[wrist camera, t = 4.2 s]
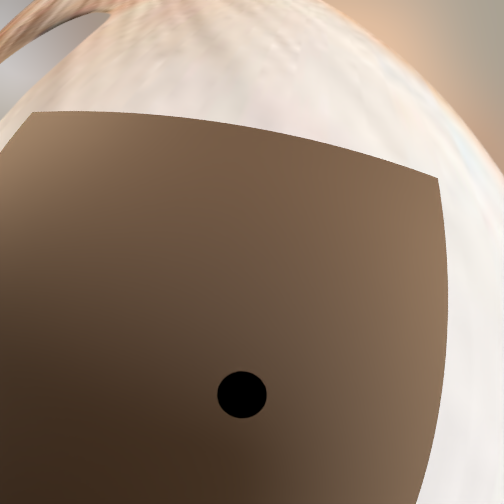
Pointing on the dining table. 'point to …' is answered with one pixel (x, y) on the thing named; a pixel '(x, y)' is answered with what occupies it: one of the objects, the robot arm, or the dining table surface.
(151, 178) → the walnut block
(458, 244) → the dining table surface
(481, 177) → the dining table surface
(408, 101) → the dining table surface
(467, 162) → the dining table surface
